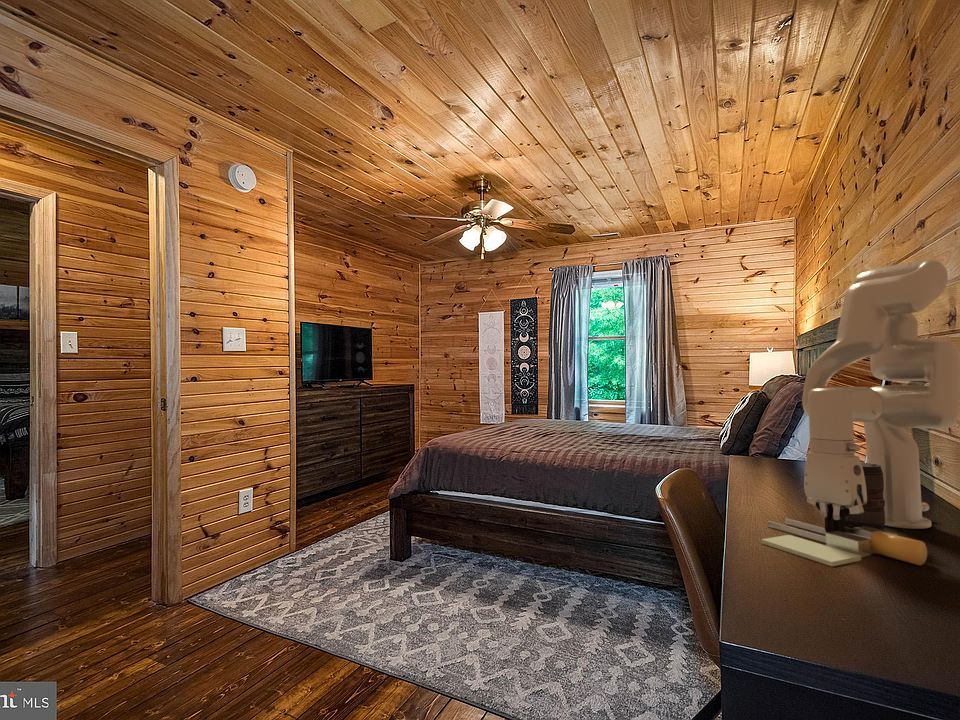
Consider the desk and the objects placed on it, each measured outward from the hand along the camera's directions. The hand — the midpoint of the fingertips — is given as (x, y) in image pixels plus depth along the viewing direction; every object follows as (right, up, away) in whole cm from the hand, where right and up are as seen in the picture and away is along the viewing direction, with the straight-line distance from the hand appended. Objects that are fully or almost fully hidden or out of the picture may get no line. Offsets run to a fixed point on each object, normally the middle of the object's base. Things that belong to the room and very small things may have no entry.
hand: (835, 537), depth 103 cm
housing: (-1, -1, +2) cm, 3 cm away
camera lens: (+9, -1, +5) cm, 10 cm away
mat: (-9, -1, -6) cm, 11 cm away
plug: (+3, 0, -8) cm, 8 cm away
